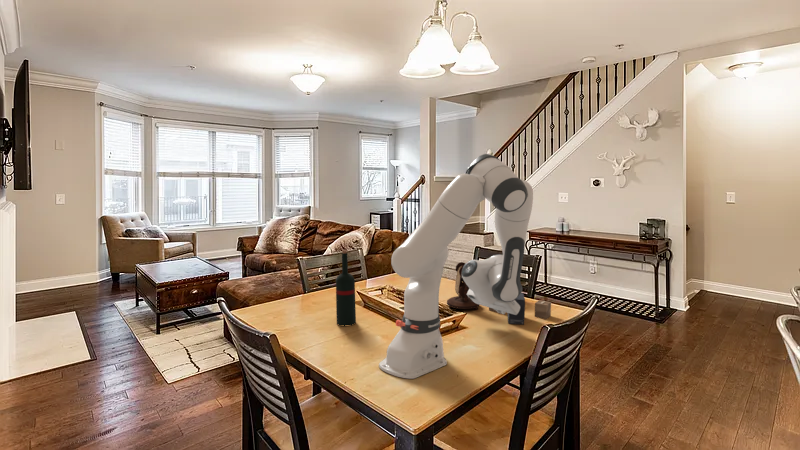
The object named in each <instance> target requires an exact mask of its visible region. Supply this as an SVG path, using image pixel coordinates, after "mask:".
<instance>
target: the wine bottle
mask: <svg viewBox="0 0 800 450" xmlns="http://www.w3.org/2000/svg"><path fill="white" fill-rule="evenodd" d="M347 250H348V249H341V251H342V253H341V267H342V268H341V270H342V273H340V274H339V275H337V277H336V278H335V298H336V299H335V301H336V303H335V305H336V308H335V309H336V315H335V316H336V325H337V324H339V325H344V326H343V327H346V326H345V325H351V326H353V325H352V324H354V323H355V324H356V323H357V317H356V314H357V312H356V309H357V308H356V283H355V281H356V279H355V278H354V276H353V274H351V273H350V272H348V271H349V269H348V268H349V265H348V262H349V261H348V260H349V259H348V253H347V252H348V251H347ZM355 324H354V325H355ZM339 325H338V326H339Z"/></svg>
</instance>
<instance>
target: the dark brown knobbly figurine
mask: <svg viewBox="0 0 800 450" xmlns="http://www.w3.org/2000/svg"><path fill="white" fill-rule="evenodd" d="M466 263H467V262H464V261H463V262H462V261H461V262H458V263H457V264H456V266H455V272H456V277H455V286H454V289H455V293H456V295H457V296H453V297H450V298H449V299H447V300H446V305H447V306H448V307H450V308H453V309H454V308H456V309H459V310H469V309H475V310H476V311H477V310H478V309H479V308H478V307H480V306H481V305H479V304H476V303H474V302H473V301H472V300H471V299H470V297H468V296H467V292H468V290H469V287H468V286H467V285H466V283H465V281H464V280H463V278H462V268H463V266H464V265H465V264H466Z"/></svg>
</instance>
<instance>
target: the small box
mask: <svg viewBox="0 0 800 450" xmlns="http://www.w3.org/2000/svg"><path fill="white" fill-rule="evenodd" d="M515 301H516V302H517V303H518V304H519V305H520V310H519V312H518V314H517V315H514V314H510V313H507V323H508V324H509V325H510V324H511V325H512V324H513V325H525V315H526V313H525V312H526V299H525V295H524V293H523V292H521V294H520V295H519V297H518V298H517V299H515Z"/></svg>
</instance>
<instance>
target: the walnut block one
mask: <svg viewBox="0 0 800 450" xmlns="http://www.w3.org/2000/svg"><path fill="white" fill-rule="evenodd" d="M551 313H552V302H551V301H545V300H541V299H539V300H537V301H535V302H534V318H535V317H536V318H538V317H539V318H540V319H543V318H544V320H547V319H549V318H550V317H551V316H552V314H551ZM539 318H538V319H539Z"/></svg>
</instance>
